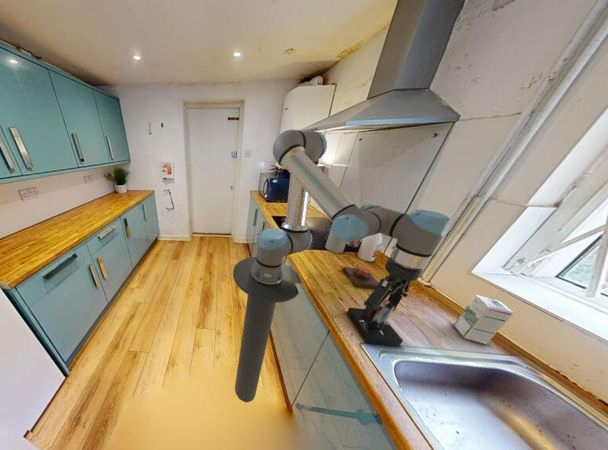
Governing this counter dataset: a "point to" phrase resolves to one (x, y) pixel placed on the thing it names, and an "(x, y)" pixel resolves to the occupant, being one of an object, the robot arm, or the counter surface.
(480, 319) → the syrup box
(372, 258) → the milk bottle
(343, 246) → the grey cylinder
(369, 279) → the dark square plate
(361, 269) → the dispense button
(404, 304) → the counter surface
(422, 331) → the counter surface
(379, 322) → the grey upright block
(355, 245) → the soda can
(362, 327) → the control panel
